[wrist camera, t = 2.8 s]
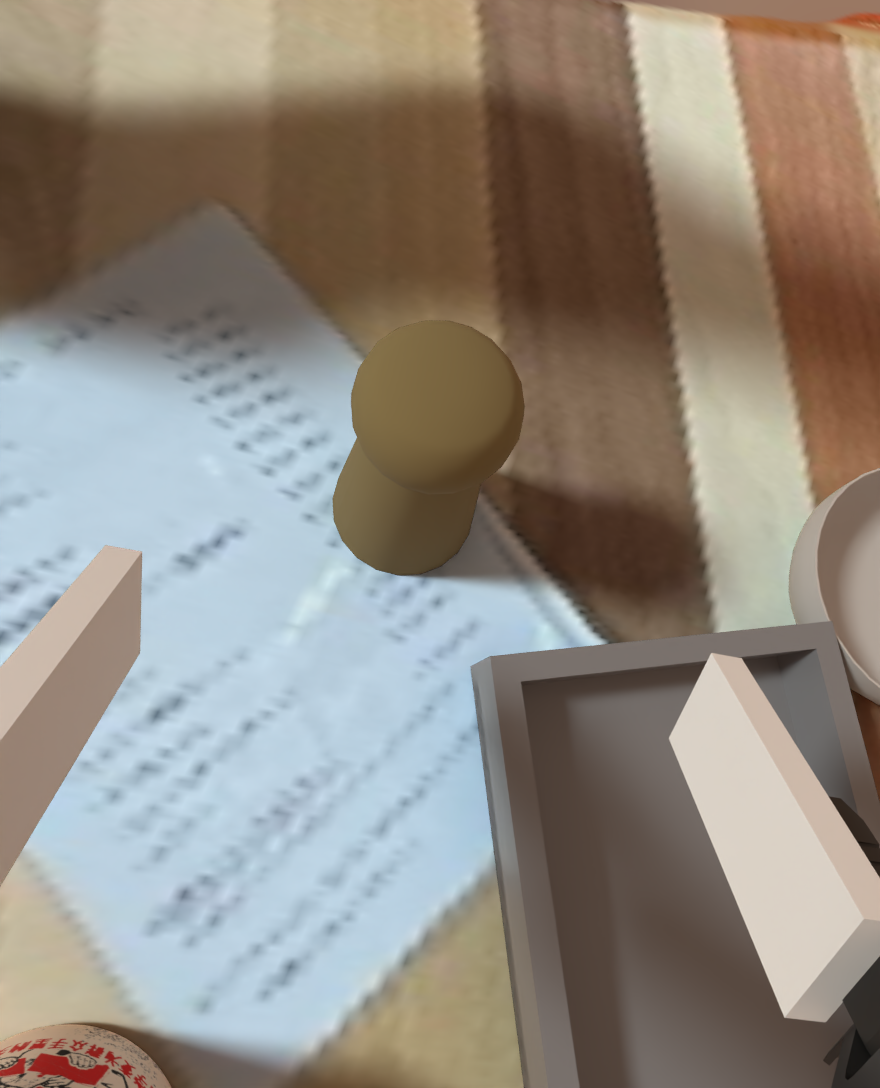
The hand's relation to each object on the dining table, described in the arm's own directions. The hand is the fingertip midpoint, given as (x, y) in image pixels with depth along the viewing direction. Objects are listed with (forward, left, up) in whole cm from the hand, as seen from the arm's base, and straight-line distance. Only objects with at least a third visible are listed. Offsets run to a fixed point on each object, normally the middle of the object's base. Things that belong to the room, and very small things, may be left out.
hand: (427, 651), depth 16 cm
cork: (-8, +2, -12) cm, 15 cm away
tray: (+9, +11, -12) cm, 19 cm away
